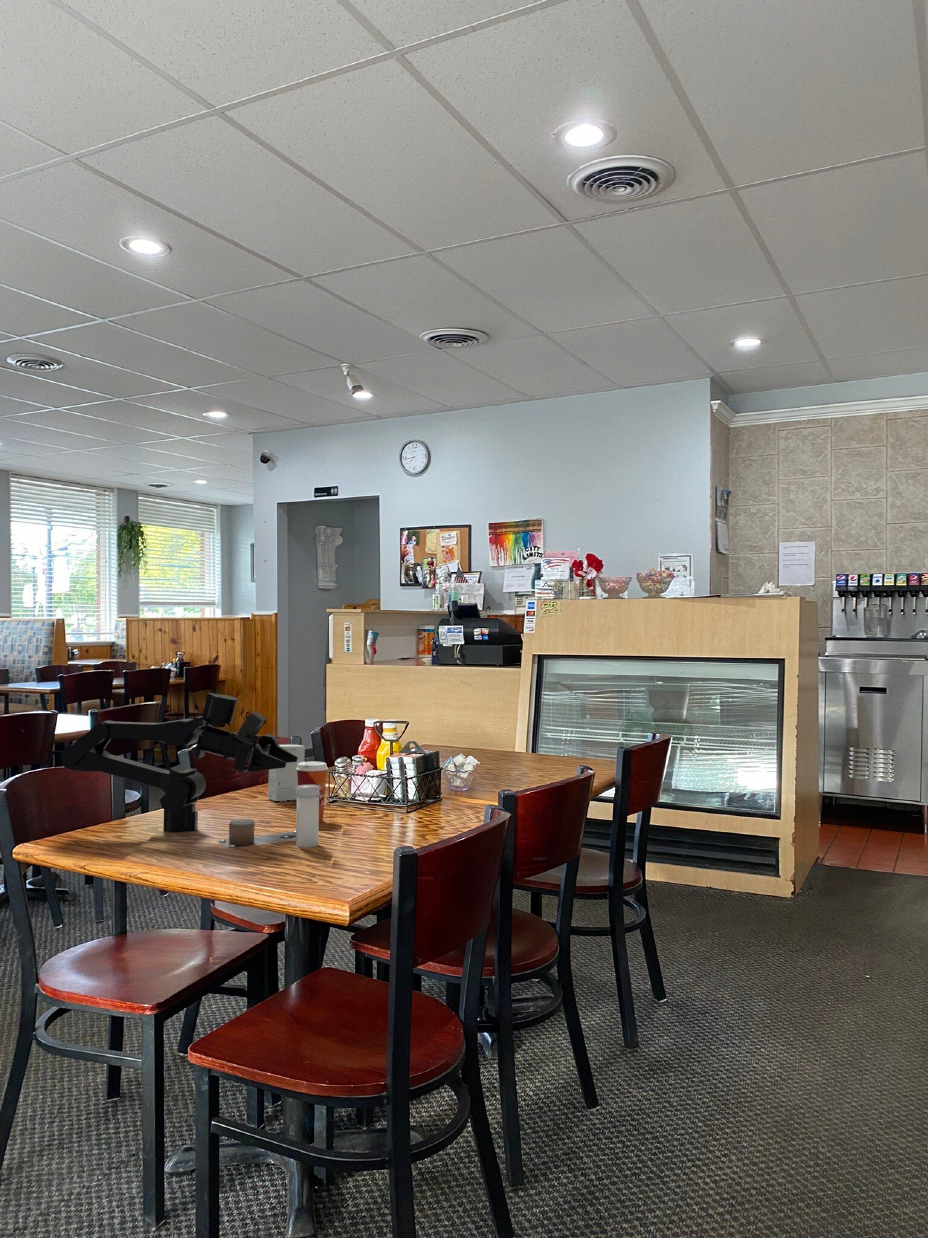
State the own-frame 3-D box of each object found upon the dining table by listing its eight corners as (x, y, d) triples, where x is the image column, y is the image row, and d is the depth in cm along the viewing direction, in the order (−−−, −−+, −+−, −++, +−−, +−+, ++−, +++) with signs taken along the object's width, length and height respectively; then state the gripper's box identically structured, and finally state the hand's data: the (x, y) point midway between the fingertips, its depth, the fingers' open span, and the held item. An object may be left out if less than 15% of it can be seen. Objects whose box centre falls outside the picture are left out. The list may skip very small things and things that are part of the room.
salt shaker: (294, 851, 184) (295, 788, 185) (297, 846, 189) (298, 784, 189) (317, 851, 185) (318, 788, 185) (319, 846, 189) (320, 784, 190)
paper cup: (320, 825, 210) (321, 766, 210) (289, 824, 211) (290, 764, 212) (332, 819, 218) (332, 761, 218) (302, 817, 219) (303, 760, 219)
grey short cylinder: (226, 845, 186) (226, 823, 186) (231, 839, 191) (231, 818, 191) (251, 845, 186) (252, 823, 186) (256, 839, 191) (256, 818, 191)
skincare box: (276, 802, 239) (277, 746, 239) (267, 799, 244) (268, 744, 244) (304, 799, 244) (305, 745, 244) (295, 796, 249) (296, 742, 249)
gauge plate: (228, 852, 183) (229, 847, 183) (215, 845, 189) (215, 839, 189) (313, 841, 194) (313, 836, 194) (298, 834, 200) (298, 829, 200)
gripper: (219, 712, 190) (289, 731, 189) (248, 705, 209) (311, 723, 207) (206, 762, 190) (275, 782, 189) (236, 751, 209) (299, 769, 207)
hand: (291, 762), depth 198 cm, fingers open, 9 cm apart
